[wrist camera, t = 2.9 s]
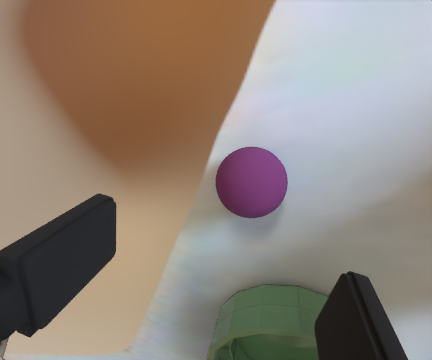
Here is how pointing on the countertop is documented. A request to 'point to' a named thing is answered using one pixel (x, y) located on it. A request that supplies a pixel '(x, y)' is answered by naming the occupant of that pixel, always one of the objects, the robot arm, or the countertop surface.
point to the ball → (251, 182)
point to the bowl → (268, 325)
